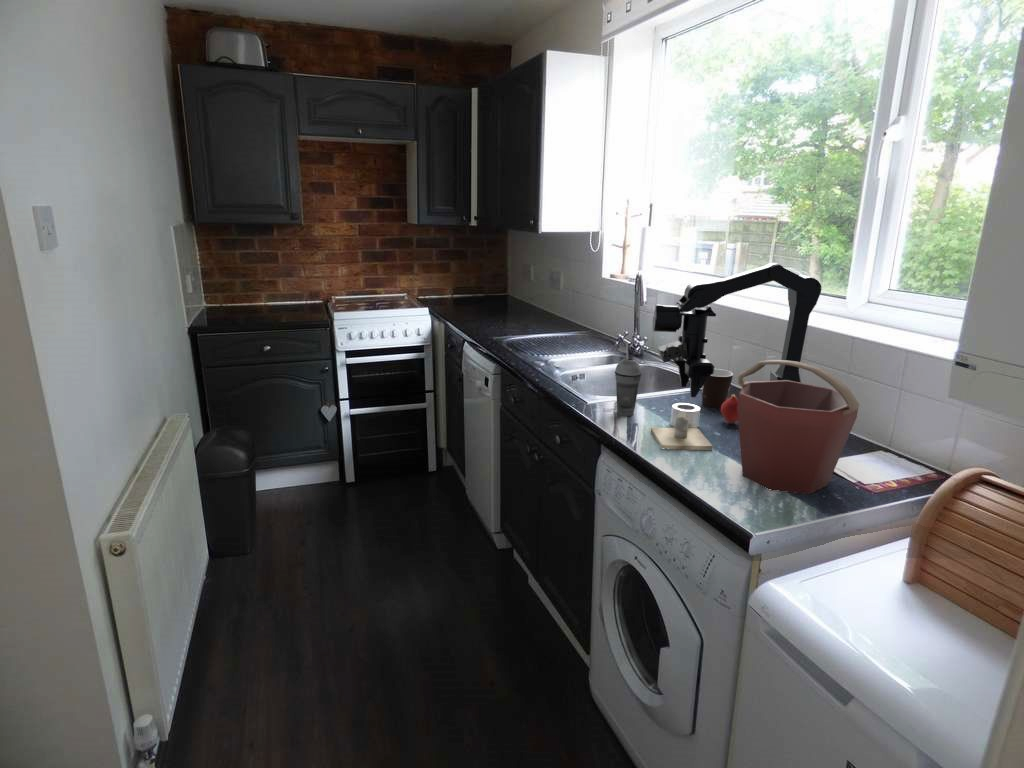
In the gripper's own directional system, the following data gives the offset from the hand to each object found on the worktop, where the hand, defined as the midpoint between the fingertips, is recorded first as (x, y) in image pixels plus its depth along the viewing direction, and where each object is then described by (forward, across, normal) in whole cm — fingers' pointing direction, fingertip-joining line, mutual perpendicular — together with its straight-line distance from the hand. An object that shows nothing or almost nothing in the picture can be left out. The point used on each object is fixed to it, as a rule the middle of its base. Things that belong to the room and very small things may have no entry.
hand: (688, 391), depth 162 cm
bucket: (+10, +31, +13) cm, 35 cm away
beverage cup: (+9, -9, -14) cm, 19 cm away
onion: (+9, -2, +13) cm, 16 cm away
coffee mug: (+9, -18, +14) cm, 25 cm away
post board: (+9, +11, -4) cm, 15 cm away
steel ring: (+9, 0, 0) cm, 9 cm away
